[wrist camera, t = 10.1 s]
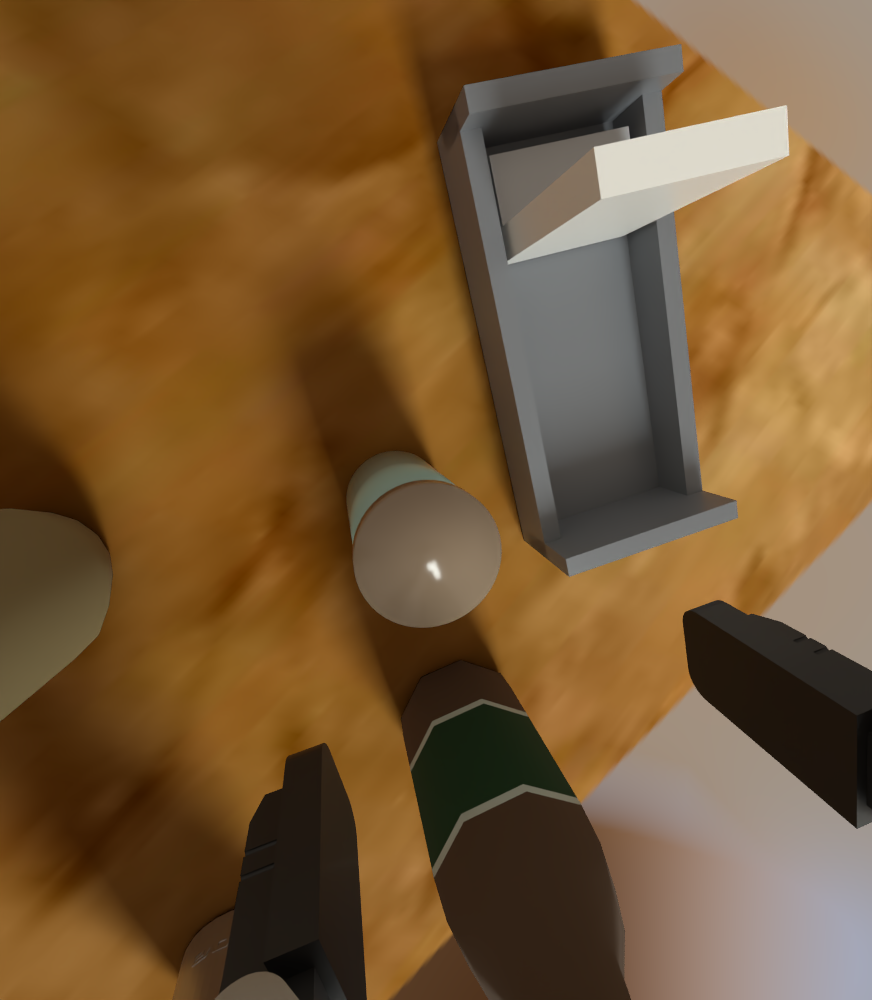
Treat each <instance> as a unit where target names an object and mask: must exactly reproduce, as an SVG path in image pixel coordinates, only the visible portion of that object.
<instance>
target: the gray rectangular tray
mask: <svg viewBox="0 0 872 1000" xmlns="http://www.w3.org/2000/svg"><path fill="white" fill-rule="evenodd" d="M682 72H683V60H682V49H681V44H679V45H674V46H668V47H663V48H658V49H653V50H647V51H642V52H637V53H631V54H626V55H621V56H616V57H610V58H605V59H600V60H595V61H589V62H584V63H579V64H573V65H568V66H563V67H558V68H552V69H547V70H542V71H537V72H531V73H526V74H521V75H515V76H510V77H505V78H500V79H494V80H489V81H484V82H478V83H473V84H468V85H464V86H463V88H462V90H461V92H460V94H459V97H458V99H457V101H456V103H455V105H454V107H453V109H452V112H451V114H450V116H449V118H448V120H447V122H446V125H445V127H444V129H443V131H442V133H441V135H440V137H439V140H438V142H437V144H438V148H439V153H440V157H441V162H442V167H443V171H444V176H445V180H446V185H447V189H448V194H449V199H450V203H451V208H452V212H453V217H454V222H455V226H456V231H457V235H458V240H459V244H460V249H461V254H462V258H463V263H464V267H465V272H466V276H467V281H468V286H469V290H470V295H471V299H472V304H473V308H474V313H475V318H476V322H477V327H478V331H479V336H480V341H481V345H482V350H483V354H484V359H485V363H486V368H487V373H488V377H489V382H490V386H491V391H492V395H493V400H494V405H495V409H496V414H497V418H498V423H499V427H500V432H501V437H502V441H503V446H504V450H505V455H506V459H507V464H508V469H509V473H510V478H511V482H512V487H513V492H514V496H515V501H516V505H517V510H518V514H519V519H520V524H521V528H522V533H523V537H524V541H526V542H527V543H528V544H529V545H531V546H532V547H533V548H534V549H536V550H537V551H538V552H539V553H540V554H542V555H543V556H544V557H545V558H547V559H548V560H549V561H550V562H552V563H553V564H554V565H555V566H557V567H558V568H559V569H560V570H561V571H563V572H564V573H565V574H566V575H568V576H569V577H570V576H573V575H576V574H578V573H581V572H584V571H587V570H590V569H593V568H596V567H598V566H601V565H604V564H607V563H610V562H613V561H616V560H619V559H621V558H624V557H627V556H630V555H633V554H636V553H639V552H641V551H644V550H647V549H650V548H653V547H656V546H659V545H662V544H664V543H667V542H670V541H673V540H676V539H679V538H682V537H684V536H687V535H690V534H693V533H696V532H699V531H702V530H705V529H707V528H710V527H713V526H716V525H719V524H722V523H725V522H727V521H730V520H733V519H736V518H738V513H737V501H736V500H733V499H729V498H726V497H722V496H719V495H716V494H712V493H709V492H705V491H702V483H701V473H700V463H699V453H698V443H697V434H696V424H695V414H694V404H693V395H692V385H691V375H690V365H689V356H688V346H687V336H686V326H685V317H684V307H683V297H682V287H681V278H680V268H679V258H678V248H677V238H676V229H675V219H674V212H672V213H670V214H667V215H665V216H663V217H661V218H659V219H657V220H655V221H653V222H651V223H649V224H647V225H645V226H643V227H641V228H639V229H637V230H635V231H633V232H630V233H628V234H626V235H624V236H622V237H618V238H614V239H610V240H606V241H602V242H598V243H593V244H589V245H585V246H581V247H577V248H573V249H569V250H565V251H561V252H557V253H553V254H549V255H545V256H541V257H537V258H533V259H529V260H525V261H521V262H517V263H512V264H508V262H507V257H506V252H505V246H504V241H503V236H502V231H501V226H500V221H499V216H498V210H497V205H496V200H495V195H494V190H493V185H492V180H491V174H490V169H489V164H488V159H487V158H488V157H489V156H490V155H495V154H500V153H504V152H509V151H514V150H519V149H523V148H528V147H533V146H537V145H542V144H547V143H552V142H556V141H561V140H566V139H570V138H575V137H580V136H585V135H589V134H594V133H599V132H603V131H608V130H613V129H617V128H622V127H627V126H629V134H630V139H633V138H638V137H642V136H647V135H652V134H656V133H661V132H665V121H664V112H663V102H662V92H661V90H663V89H664V88H665V87H666V86H667V85H668V84H669V83H671V82H672V81H673V80H674V79H675V78H676V77H678V76H679V75H680V74H681V73H682Z"/></svg>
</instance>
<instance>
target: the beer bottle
mask: <svg viewBox="0 0 872 1000" xmlns="http://www.w3.org/2000/svg"><path fill="white" fill-rule="evenodd" d="M401 722H402V729H403V737H404V742H405V746H406V751H407V756H408V760H409V765H410V769H411V774H412V779H413V783H414V788H415V792H416V797H417V802H418V806H419V811H420V816H421V820H422V825H423V829H424V834H425V839H426V843H427V848H428V852H429V857H430V862H431V866H432V871H433V876H434V880H435V883H436V886H437V890H438V893H439V896H440V900H441V903H442V906H443V910H444V913H445V916H446V920H447V922H448V924H449V926H450V928H451V931H452V933H453V935H454V937H455V939H456V941H457V943H458V945H459V947H460V949H461V951H462V953H463V955H464V957H465V959H466V961H467V964H468V966H469V967H470V969H471V971H472V972H473V974H474V976H475V977H476V979H477V981H478V982H479V984H480V986H481V987H482V989H483V991H484V992H485V994H486V996H487V997H488V999H489V1000H631V999H630V995H629V993H628V989H627V987H626V984H625V981H624V942H625V930H624V925H623V921H622V917H621V912H620V908H619V904H618V899H617V895H616V891H615V888H614V884H613V881H612V878H611V875H610V872H609V869H608V866H607V863H606V859H605V856H604V853H603V850H602V847H601V844H600V842H599V839H598V837H597V835H596V834H595V831H594V829H593V827H592V825H591V823H590V821H589V819H588V817H587V816H586V814H585V811H584V810H583V808H582V805H581V804H580V802H579V800H578V799H577V797H576V795H575V794H574V792H573V790H572V789H571V787H570V785H569V784H568V782H567V780H566V779H565V777H564V775H563V774H562V772H561V770H560V769H559V767H558V765H557V764H556V762H555V760H554V759H553V757H552V755H551V754H550V752H549V750H548V749H547V747H546V745H545V744H544V742H543V740H542V739H541V737H540V735H539V734H538V732H537V730H536V729H535V727H534V725H533V724H532V722H531V720H530V719H529V717H528V715H527V714H526V712H525V710H524V709H523V707H522V705H521V704H520V702H519V700H518V699H517V697H516V695H515V694H514V692H513V690H512V689H511V687H510V686H509V684H508V683H507V682H506V680H505V679H504V678H503V676H502V675H501V673H498V672H495V671H492V670H489V669H486V668H483V667H480V666H477V665H474V664H471V663H468V662H465V661H461V660H460V661H457V662H455V663H453V664H451V665H448V666H446V667H444V668H441V669H439V670H437V671H435V672H432V673H430V674H428V675H426V676H423V677H421V679H420V681H419V683H418V685H417V687H416V689H415V691H414V693H413V695H412V697H411V699H410V701H409V703H408V705H407V707H406V709H405V711H404V713H403V715H402V717H401Z"/></svg>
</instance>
